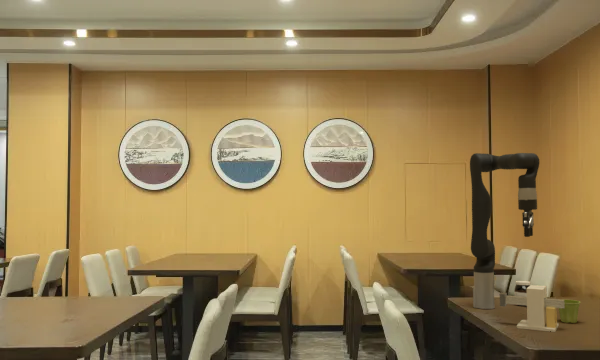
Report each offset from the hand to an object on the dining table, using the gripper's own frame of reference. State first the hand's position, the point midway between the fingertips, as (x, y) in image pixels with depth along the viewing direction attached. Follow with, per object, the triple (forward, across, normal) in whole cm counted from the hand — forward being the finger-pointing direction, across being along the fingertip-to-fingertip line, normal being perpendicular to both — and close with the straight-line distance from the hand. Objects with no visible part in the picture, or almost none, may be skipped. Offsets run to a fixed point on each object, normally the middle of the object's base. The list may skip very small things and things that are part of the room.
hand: (528, 236), depth 229 cm
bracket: (+36, +11, +4) cm, 38 cm away
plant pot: (+36, -6, +14) cm, 39 cm away
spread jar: (+36, -38, -7) cm, 53 cm away
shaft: (+29, +11, +2) cm, 31 cm away
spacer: (+31, +11, +9) cm, 35 cm away
